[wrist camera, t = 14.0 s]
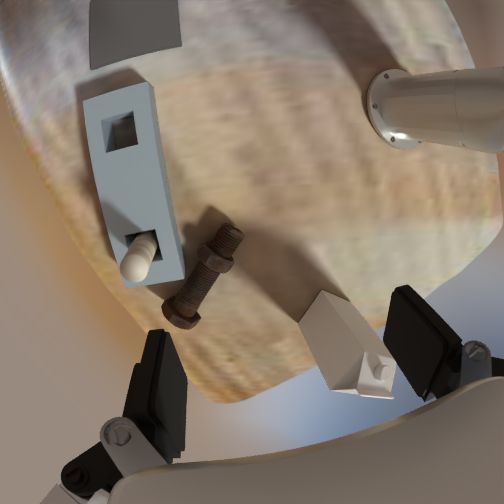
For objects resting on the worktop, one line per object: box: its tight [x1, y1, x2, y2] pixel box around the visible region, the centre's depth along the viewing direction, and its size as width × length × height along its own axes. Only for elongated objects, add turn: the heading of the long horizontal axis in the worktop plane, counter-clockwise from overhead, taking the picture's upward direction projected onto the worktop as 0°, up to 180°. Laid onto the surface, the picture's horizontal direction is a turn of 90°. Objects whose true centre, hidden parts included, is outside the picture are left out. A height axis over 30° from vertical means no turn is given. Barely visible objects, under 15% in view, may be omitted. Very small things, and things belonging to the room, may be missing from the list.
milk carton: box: [298, 290, 396, 399], centre depth 37 cm, size 7×7×19 cm
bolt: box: [161, 223, 244, 330], centre depth 37 cm, size 6×5×15 cm
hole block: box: [83, 81, 186, 289], centre depth 31 cm, size 24×8×4 cm, turn 7°
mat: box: [90, 0, 182, 70], centre depth 24 cm, size 12×12×1 cm
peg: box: [120, 229, 159, 283], centre depth 31 cm, size 3×3×10 cm
